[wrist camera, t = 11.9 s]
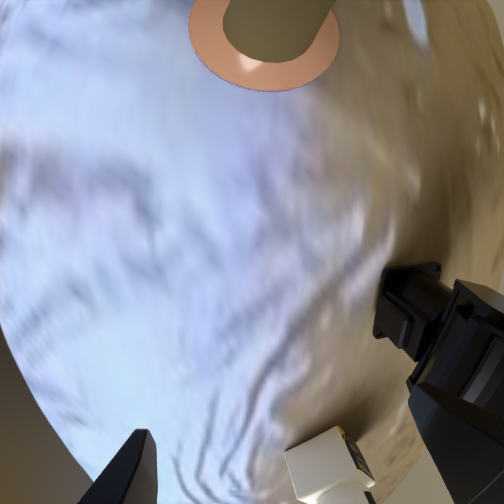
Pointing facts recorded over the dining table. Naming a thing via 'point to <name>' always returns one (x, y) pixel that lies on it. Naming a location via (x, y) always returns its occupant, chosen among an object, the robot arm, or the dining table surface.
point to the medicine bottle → (330, 470)
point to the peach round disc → (253, 71)
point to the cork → (274, 27)
